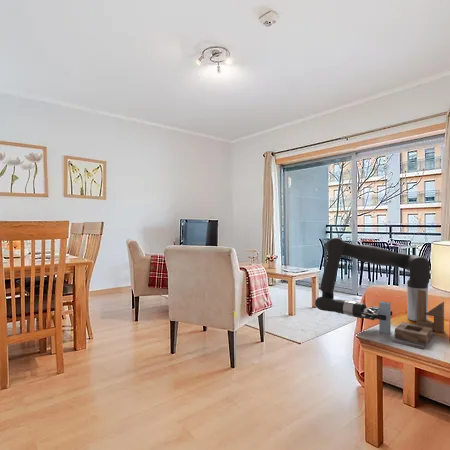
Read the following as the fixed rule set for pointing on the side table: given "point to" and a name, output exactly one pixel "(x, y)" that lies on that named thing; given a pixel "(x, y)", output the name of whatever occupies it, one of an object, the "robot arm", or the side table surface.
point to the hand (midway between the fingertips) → (389, 315)
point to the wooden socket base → (413, 335)
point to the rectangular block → (385, 310)
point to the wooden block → (436, 312)
